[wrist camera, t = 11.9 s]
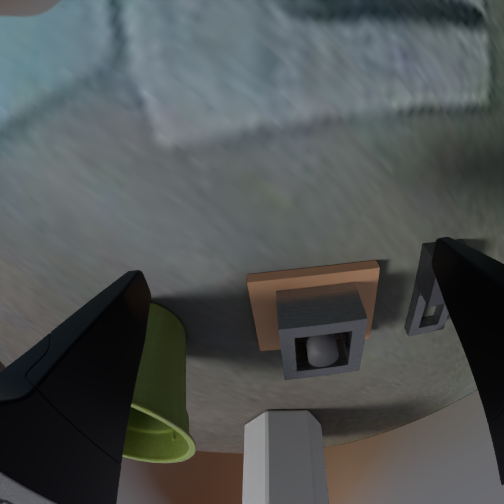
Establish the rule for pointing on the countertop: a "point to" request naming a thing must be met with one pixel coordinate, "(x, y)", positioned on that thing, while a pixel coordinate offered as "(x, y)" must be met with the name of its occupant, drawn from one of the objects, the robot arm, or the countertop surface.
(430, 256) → the dark clasp block
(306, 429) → the soap bottle
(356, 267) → the tan board with knob
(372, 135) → the countertop surface
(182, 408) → the plant pot
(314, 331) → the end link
